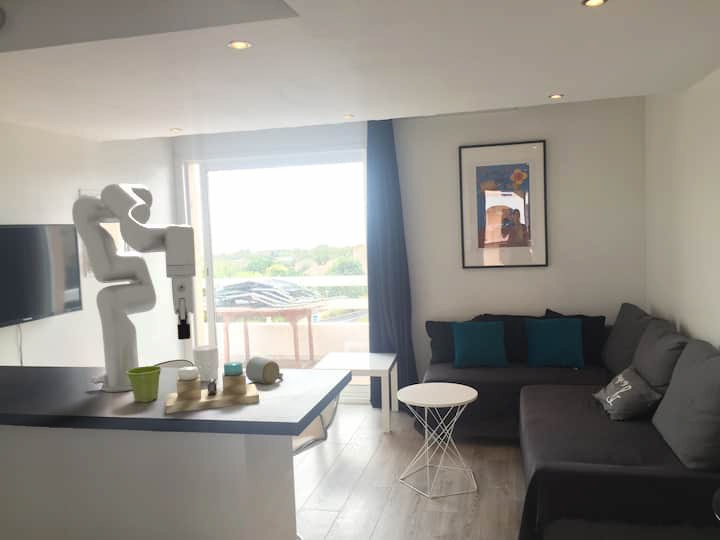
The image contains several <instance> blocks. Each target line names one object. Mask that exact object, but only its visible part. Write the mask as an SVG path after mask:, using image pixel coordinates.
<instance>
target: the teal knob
mask: <svg viewBox="0 0 720 540" xmlns="http://www.w3.org/2000/svg"><path fill="white" fill-rule="evenodd" d="M243 370H244V369H243V362H242V361H240V362H239V361H231V362H227V363H224V364H223V373H224V374H225V375H229V376H233V375H238V374H241V373H243Z"/></svg>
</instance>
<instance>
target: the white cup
mask: <svg viewBox="0 0 720 540" xmlns="http://www.w3.org/2000/svg"><path fill="white" fill-rule="evenodd" d="M192 357H193V365H194V366H193V367H197V369H198V375H200V382H209V380H210V379H214V380H217V379H219V347H218V346H217V345H214V344H213V345H212V344H208V345H200V346H195V347H193V348H192Z"/></svg>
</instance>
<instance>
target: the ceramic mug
mask: <svg viewBox="0 0 720 540" xmlns="http://www.w3.org/2000/svg"><path fill="white" fill-rule="evenodd" d="M278 364H279V363H277V362H276V361H274V360H272V359H268V358H265V357H260V356H253V357H252V358H250V359H249V360H248V361H247V364H246V365H245V366H246V367H245V375H246V377H247V378H246V379H248V380H249V381H250V382H253V381H254V382H255V383H258V382H259V383H260V384H263V383H264V385H271V384H274V383H275V382H276V381H277V380H278V379H283V376H284V373H282V372H280V366H279V365H278ZM254 382H253V383H254Z"/></svg>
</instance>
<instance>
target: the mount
mask: <svg viewBox="0 0 720 540" xmlns="http://www.w3.org/2000/svg"><path fill="white" fill-rule="evenodd" d="M221 375H222V376H221V379H222V387H217V394H216V395H212V396H209V395H208V388H206V389H201V388H202V387H201V381H200V375H198V378H196V379H193V380H187V381H184V380H179V376H178V377H177V378H176V392H172V393H167V395H166V400H165V414H172V413H182V412H191V411H197V410H205V409H213V408H222V407H230V406H231V407H232V406H238V405H245V404H246V403H248V404H254V403H253V402H256V403H260V395H259V392H258V389H257V387H256V384H255V383H251V384H250V383H249V384H247V378H246V377H247V376H246V371H245V370H244V369H243V373H241V374H238V375H233V376H229V375H225V374H224V372H222V373H221Z"/></svg>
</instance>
